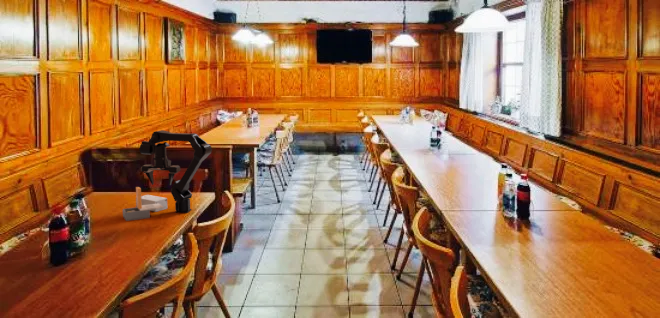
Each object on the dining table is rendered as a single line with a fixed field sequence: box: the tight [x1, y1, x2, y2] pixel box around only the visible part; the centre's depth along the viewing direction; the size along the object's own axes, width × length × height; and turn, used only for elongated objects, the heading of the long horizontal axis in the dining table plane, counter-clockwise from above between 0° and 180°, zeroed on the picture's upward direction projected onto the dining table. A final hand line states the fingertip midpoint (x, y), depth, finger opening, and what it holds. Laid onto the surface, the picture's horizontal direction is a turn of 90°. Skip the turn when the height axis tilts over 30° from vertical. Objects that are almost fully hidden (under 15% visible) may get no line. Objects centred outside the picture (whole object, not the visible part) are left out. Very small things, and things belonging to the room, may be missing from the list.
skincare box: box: [135, 194, 168, 212], centre depth 260 cm, size 8×6×15 cm
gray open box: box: [122, 206, 151, 222], centre depth 244 cm, size 11×8×4 cm
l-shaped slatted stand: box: [135, 186, 163, 211], centre depth 246 cm, size 11×8×11 cm
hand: (161, 184), depth 257 cm, fingers open, 9 cm apart
